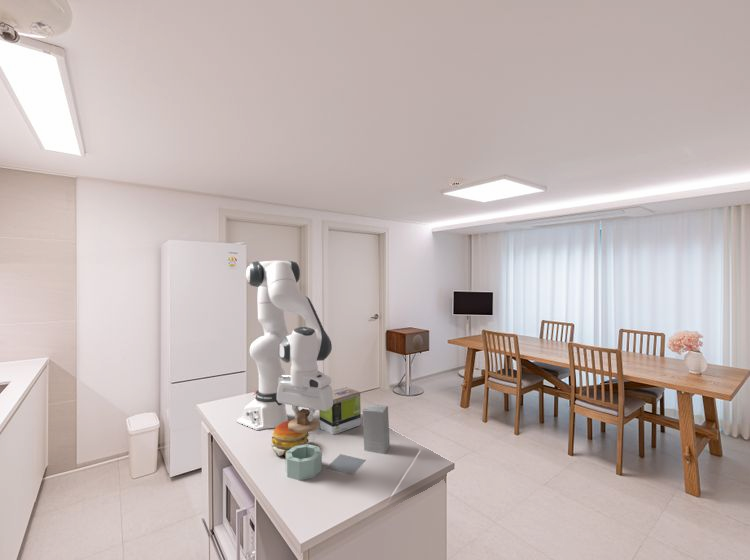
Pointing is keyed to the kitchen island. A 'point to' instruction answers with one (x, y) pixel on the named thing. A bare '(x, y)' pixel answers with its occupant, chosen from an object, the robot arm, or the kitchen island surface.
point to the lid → (303, 422)
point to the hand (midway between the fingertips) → (303, 419)
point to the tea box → (342, 412)
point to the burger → (287, 439)
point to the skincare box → (376, 428)
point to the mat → (346, 464)
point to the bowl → (303, 462)
